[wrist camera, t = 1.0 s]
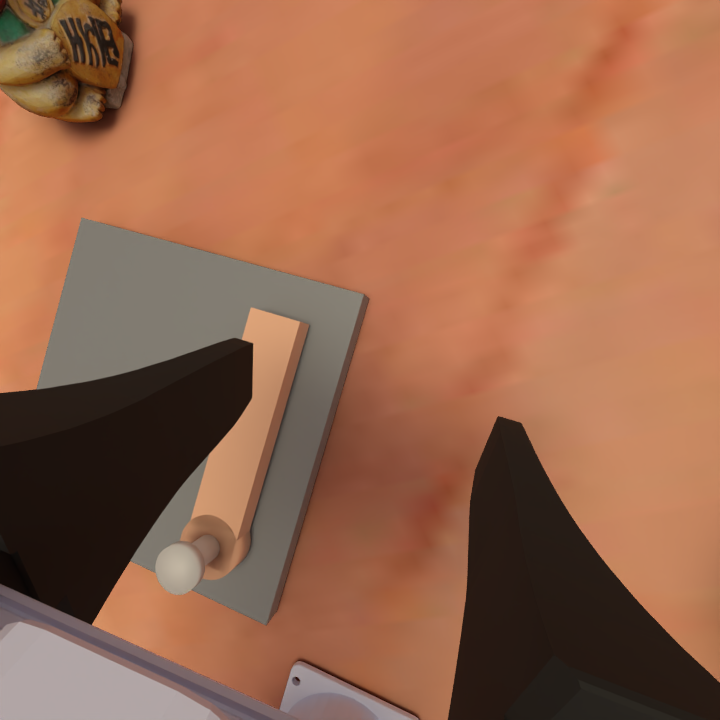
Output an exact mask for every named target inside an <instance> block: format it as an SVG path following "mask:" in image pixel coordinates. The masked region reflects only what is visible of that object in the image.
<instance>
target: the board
mask: <svg viewBox="0 0 720 720" xmlns="http://www.w3.org/2000/svg"><path fill="white" fill-rule="evenodd" d="M368 301H369V298H368V297H367V296H365V295H364V294H361V293H357V292H354V291H350V290H346V289H343V288H339V287H335V286H332V285H328V284H324V283H320V282H317V281H313V280H309V279H306V278H302V277H298V276H295V275H291V274H287V273H284V272H280V271H276V270H273V269H269V268H265V267H262V266H258V265H254V264H250V263H247V262H243V261H239V260H236V259H232V258H228V257H225V256H221V255H217V254H214V253H210V252H206V251H203V250H199V249H195V248H192V247H188V246H184V245H180V244H177V243H173V242H169V241H166V240H162V239H158V238H155V237H151V236H147V235H144V234H140V233H136V232H133V231H129V230H125V229H122V228H118V227H114V226H110V225H107V224H103V223H99V222H96V221H92V220H88V219H85V218H81V222H80V226H79V229H78V233H77V237H76V241H75V245H74V248H73V252H72V256H71V260H70V264H69V267H68V271H67V275H66V279H65V283H64V286H63V290H62V294H61V298H60V302H59V305H58V309H57V313H56V317H55V321H54V324H53V328H52V332H51V336H50V340H49V343H48V347H47V351H46V355H45V359H44V362H43V366H42V370H41V374H40V378H39V381H38V385H37V389H44V388H51V387H57V386H63V385H69V384H75V383H81V382H87V381H92V380H97V379H101V378H106V377H110V376H114V375H118V374H122V373H126V372H130V371H134V370H137V369H140V368H144V367H147V366H150V365H153V364H157V363H160V362H163V361H166V360H170V359H173V358H175V357H178V356H181V355H184V354H187V353H190V352H193V351H196V350H198V349H201V348H204V347H207V346H210V345H213V344H216V343H218V342H222V341H225V340H228V339H232V338H238V339H241V340H242V337H243V333H244V330H245V326H246V323H247V319H248V316H249V312H250V309H251V307H252V308H255V309H259V310H262V311H266V312H269V313H272V314H276V315H279V316H282V317H286V318H289V319H293V320H296V321H299V322H303V323H306V324H309V328H308V331H307V334H306V338H305V341H304V345H303V348H302V352H301V355H300V359H299V362H298V365H297V369H296V372H295V376H294V379H293V383H292V386H291V390H290V393H289V396H288V400H287V403H286V407H285V410H284V414H283V417H282V421H281V424H280V427H279V431H278V434H277V438H276V441H275V445H274V448H273V452H272V455H271V458H270V462H269V465H268V469H267V472H266V476H265V479H264V483H263V486H262V489H261V493H260V496H259V500H258V503H257V507H256V510H255V514H254V517H253V520H252V524H251V527H250V536H251V542H250V548H249V551H248V553H247V555H246V557H245V558H244V559H243V561H242V562H240V563H239V564H238V565H237V566H236V567H235V568H234V569H233V570H232V571H230V572H229V573H228V574H227V575H226V576H224V577H222V578H220V579H216V580H206V579H202V580H201V582H200V583H199V584H198V585H196V586H195V587H194V588H193V589H192V590H193V591H195V592H197V593H199V594H201V595H203V596H205V597H207V598H209V599H212V600H214V601H216V602H218V603H220V604H222V605H224V606H226V607H228V608H231V609H233V610H235V611H237V612H239V613H241V614H243V615H245V616H247V617H250V618H252V619H254V620H256V621H258V622H260V623H262V624H264V625H267V624H268V622H269V621H270V620H271V618H272V617H273V616H274V614H275V613H276V612H277V609H278V605H279V602H280V598H281V595H282V592H283V588H284V585H285V582H286V578H287V575H288V571H289V568H290V565H291V561H292V558H293V555H294V551H295V548H296V544H297V541H298V538H299V534H300V531H301V527H302V524H303V521H304V517H305V514H306V511H307V507H308V504H309V500H310V497H311V494H312V490H313V487H314V484H315V480H316V477H317V473H318V470H319V467H320V463H321V460H322V457H323V453H324V450H325V446H326V443H327V440H328V436H329V433H330V429H331V426H332V423H333V419H334V416H335V413H336V409H337V406H338V402H339V399H340V396H341V392H342V389H343V386H344V382H345V379H346V375H347V372H348V369H349V365H350V362H351V358H352V355H353V352H354V348H355V345H356V342H357V338H358V335H359V331H360V328H361V325H362V321H363V318H364V315H365V311H366V308H367V304H368ZM208 457H209V455H208V456H207V457H206V458H205V459H204V461H203V462H202V463H201V464H200V465H199V466H198V467H197V469H196V470H195V471H194V472H193V473H192V474H191V475H190V476H189V478H188V479H187V480H186V481H185V482H184V484H183V485H182V486H181V487H180V489H179V490H178V491H177V493H176V494H175V495H174V497H173V498H172V500H171V501H170V502H169V504H168V505H167V507H166V508H165V509H164V511H163V512H162V514H161V515H160V516H159V518H158V519H157V521H156V522H155V524H154V525H153V527H152V528H151V530H150V531H149V533H148V534H147V536H146V537H145V539H144V540H143V542H142V543H141V545H140V546H139V548H138V549H137V551H136V552H135V554H134V556H133V557H132V559H131V560H130V561H131V562H133V563H136V564H138V565H140V566H142V567H144V568H146V569H148V570H150V571H152V572H155V573H156V570H155V566H156V560H157V558H158V556H159V554H160V553H161V551H162V550H164V549H165V548H167V547H168V546H170V545H172V544H173V543H175V542H178V541H180V538H181V534H182V531H183V529H184V528H185V526H186V525H187V524H188V522H189V521H190V520H191V517H192V513H193V510H194V506H195V502H196V499H197V495H198V492H199V488H200V485H201V481H202V478H203V474H204V471H205V467H206V464H207V460H208Z"/></svg>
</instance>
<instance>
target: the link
mask: <svg viewBox="0 0 720 720" xmlns="http://www.w3.org/2000/svg"><path fill="white" fill-rule="evenodd" d="M308 328H309V324H306V323H303V322H299V321H296V320H293V319H289V318H286V317H282V316H279V315H276V314H272V313H269V312H266V311H262V310H259V309H255V308H252V307H251V309H250V312H249V316H248V319H247V323H246V326H245V330H244V333H243V337H242V340H245V341H248V342H251V343H253V389H252V399H251V401H250V403H249V404H248V406H247V407H246V409H245V410H244V412H243V414H242V415H241V417H240V418H239V419H238V421H237V422H236V424H235V425H234V426H233V427H232V429H231V430H230V431H229V432H228V433H227V434H226V436H225V437H224V438H223V439H222V440H221V441H220V443H219V444H218V445H217V446H216V447H215V448H214V449H213V450H212V452H211V453H210V454H209V457H208V460H207V464H206V467H205V471H204V474H203V478H202V481H201V485H200V488H199V492H198V495H197V499H196V502H195V506H194V510H193V513H192V517H191V520H190V521H189V522H188V524H187V525H186V526H185V528H184V529H183V531H182V534H181V538H180V541H178V542H175V543H173V544H172V545H170V546H168V547H167V548H165V549H164V550H162V551H161V553H160V554H159V556H158V558H157V560H156V566H155V570H156V576H157V579H158V581H159V583H160V584H161V586H162V587H163V588H164V589H165V590H166V591H168V592H170V593H172V594H175V595H182V594H185V593H188V592H189V591H190V590H192V589H193V588H194V587H195V586H196V585H198V584H199V583H200V582H201V580H202V579H206V580H216V579H220V578H222V577H224V576H226V575H227V574H228V573H229V572H230V571H232V570H233V569H234V568H235V567H236V566H237V565H238V564H239V563H240V562H242V561H243V559H244V558H245V557H246V555H247V553H248V551H249V548H250V542H251V536H250V527H251V524H252V520H253V517H254V514H255V510H256V507H257V503H258V500H259V496H260V493H261V489H262V486H263V483H264V479H265V476H266V472H267V469H268V465H269V462H270V458H271V455H272V452H273V448H274V445H275V441H276V438H277V434H278V431H279V427H280V424H281V421H282V417H283V414H284V410H285V407H286V403H287V400H288V396H289V393H290V390H291V386H292V383H293V379H294V376H295V372H296V369H297V365H298V362H299V359H300V355H301V352H302V348H303V345H304V341H305V338H306V334H307V331H308Z"/></svg>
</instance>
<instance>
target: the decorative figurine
mask: <svg viewBox="0 0 720 720" xmlns="http://www.w3.org/2000/svg"><path fill="white" fill-rule="evenodd" d="M121 3H122V0H0V88H1V90H2V91H3V92H4V93H5V94H6V95H7V96H9V97H10V98H11V99H12V100H13V101H15V102H16V103H17V104H18V105H19V106H21V107H22V108H24V109H26V110H27V111H29V112H32V113H34V114H37V115H40V116H44V117H48V118H55V119H59V120H63V121H68V122H96V121H98V120H100V119H102V116H103V114H102V112H104V111H105V109H106V108H105V107H107V108H115V109H118V108H119V107H120V106H121V102H122V97H123V94H124V91H125V89H126V87H127V85H126V81H127V76H128V71H129V65H130V60H131V53H132V49H133V42H132V41H131V39H130V38H129V37H128V35H126V34H125V33H123V32H122V31H120V29H119V28H118V25H119V24H120V23H121V17H120V16H121V13H122V9H121Z"/></svg>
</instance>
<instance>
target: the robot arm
mask: <svg viewBox="0 0 720 720" xmlns="http://www.w3.org/2000/svg"><path fill="white" fill-rule="evenodd" d="M252 389H253V343H251V342H248V341H245V340H241V339H238V338H232V339H228V340H225V341H222V342H218V343H216V344H213V345H210V346H207V347H204V348H201V349H198V350H196V351H193V352H190V353H187V354H184V355H181V356H178V357H175V358H173V359H170V360H166V361H163V362H160V363H157V364H153V365H150V366H147V367H144V368H140V369H137V370H134V371H130V372H126V373H122V374H118V375H114V376H110V377H106V378H101V379H97V380H92V381H87V382H81V383H75V384H69V385H63V386H57V387H51V388H44V389H36V390H28V391H19V392H8V393H0V720H419V719H418V718H417V717H416V716H414V715H412V714H410V713H408V712H406V711H403V710H401V709H399V708H397V707H395V706H393V705H391V704H389V703H387V702H385V701H383V700H381V699H379V698H377V697H375V696H372V695H370V694H368V693H366V692H364V691H362V690H360V689H358V688H356V687H354V686H352V685H350V684H348V683H346V682H344V681H342V680H339V679H337V678H335V677H333V676H331V675H329V674H327V673H325V672H323V671H321V670H319V669H317V668H315V667H313V666H311V665H308V664H306V663H304V662H302V661H297V662H296V663H294V665H293V667H292V669H291V672H290V675H289V679H288V682H287V685H286V689H285V692H284V695H283V699H282V702H281V705H280V709H276V708H274V707H272V706H270V705H267V704H265V703H263V702H261V701H259V700H256V699H254V698H252V697H250V696H248V695H245V694H243V693H241V692H239V691H236V690H234V689H232V688H230V687H228V686H225V685H223V684H221V683H219V682H217V681H214V680H212V679H210V678H208V677H205V676H203V675H201V674H199V673H197V672H194V671H192V670H190V669H188V668H185V667H183V666H181V665H179V664H177V663H174V662H172V661H170V660H168V659H166V658H163V657H161V656H159V655H157V654H154V653H152V652H150V651H148V650H146V649H143V648H141V647H139V646H137V645H134V644H132V643H130V642H128V641H126V640H123V639H121V638H119V637H117V636H115V635H112V634H110V633H108V632H106V631H103V630H101V629H99V628H97V627H95V626H92V623H93V622H94V620H95V618H96V617H97V615H98V613H99V611H100V610H101V608H102V606H103V605H104V603H105V601H106V599H107V598H108V596H109V594H110V593H111V591H112V589H113V588H114V586H115V584H116V583H117V581H118V579H119V578H120V576H121V575H122V573H123V571H124V570H125V568H126V567H127V565H128V563H129V562H130V560H131V559H132V557H133V556H134V554H135V552H136V551H137V549H138V548H139V546H140V545H141V543H142V542H143V540H144V539H145V537H146V536H147V534H148V533H149V531H150V530H151V528H152V527H153V525H154V524H155V522H156V521H157V519H158V518H159V516H160V515H161V514H162V512H163V511H164V509H165V508H166V507H167V505H168V504H169V502H170V501H171V500H172V498H173V497H174V495H175V494H176V493H177V491H178V490H179V489H180V487H181V486H182V485H183V484H184V482H185V481H186V480H187V479H188V478H189V476H190V475H191V474H192V473H193V472H194V471H195V470H196V469H197V467H198V466H199V465H200V464H201V463H202V462H203V461H204V459H205V458H206V457H207V456H208V455H209V454H210V453H211V452H212V450H213V449H214V448H215V447H216V446H217V445H218V444H219V443H220V441H221V440H222V439H223V438H224V437H225V436H226V434H227V433H228V432H229V431H230V430H231V429H232V427H233V426H234V425H235V424H236V422H237V421H238V419H239V418H240V417H241V415H242V414H243V412H244V410H245V409H246V407H247V406H248V404H249V403H250V401H251V399H252ZM295 677H298V678H299V679H300V681H297V680H296V679H295ZM448 720H720V682H718V681H717V680H716V679H715V678H714V677H713V676H712V675H711V674H710V673H709V672H708V671H707V670H706V669H705V668H703V667H702V666H701V665H700V664H699V663H698V662H697V661H696V660H695V659H694V658H693V657H692V656H691V655H690V654H688V653H687V652H686V651H685V650H684V649H683V648H682V647H681V646H680V645H679V644H678V643H677V642H676V641H675V640H674V639H673V638H672V637H671V636H670V635H669V634H668V633H667V632H666V631H665V629H664V628H663V627H662V626H661V625H660V624H659V623H658V622H657V621H656V620H655V619H654V618H653V617H652V616H651V615H650V614H649V613H648V612H647V611H646V610H645V609H644V607H643V606H642V605H641V604H640V603H639V602H638V601H637V600H636V599H635V598H634V596H633V595H632V594H631V593H630V592H629V591H628V590H627V588H626V587H625V586H624V585H623V584H622V582H621V581H620V580H619V579H618V578H617V577H616V575H615V574H614V573H613V572H612V571H611V570H610V568H609V567H608V566H607V565H606V563H605V562H604V561H603V560H602V558H601V557H600V556H599V554H598V553H597V552H596V550H595V549H594V548H593V546H592V545H591V544H590V542H589V541H588V540H587V538H586V537H585V535H584V534H583V533H582V531H581V530H580V529H579V527H578V526H577V524H576V523H575V521H574V520H573V518H572V517H571V515H570V514H569V512H568V510H567V509H566V507H565V506H564V504H563V502H562V501H561V499H560V497H559V496H558V494H557V492H556V491H555V489H554V487H553V485H552V483H551V481H550V480H549V478H548V476H547V474H546V472H545V470H544V468H543V467H542V465H541V463H540V461H539V459H538V457H537V455H536V453H535V450H534V448H533V446H532V444H531V442H530V440H529V438H528V436H527V434H526V431H525V429H524V427H523V426H522V424H521V423H520V422H516V421H513V420H510V419H506V418H503V417H499V416H498V417H497V420H496V422H495V424H494V427H493V429H492V432H491V434H490V436H489V439H488V441H487V443H486V446H485V448H484V451H483V453H482V455H481V458H480V460H479V463H478V465H477V467H476V470H475V475H474V481H473V487H472V494H471V500H470V516H469V545H468V576H467V592H466V602H465V609H464V617H463V624H462V632H461V639H460V645H459V652H458V659H457V666H456V673H455V679H454V685H453V692H452V698H451V704H450V710H449V716H448Z"/></svg>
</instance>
